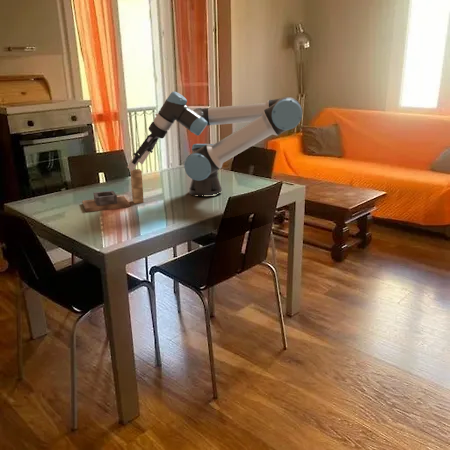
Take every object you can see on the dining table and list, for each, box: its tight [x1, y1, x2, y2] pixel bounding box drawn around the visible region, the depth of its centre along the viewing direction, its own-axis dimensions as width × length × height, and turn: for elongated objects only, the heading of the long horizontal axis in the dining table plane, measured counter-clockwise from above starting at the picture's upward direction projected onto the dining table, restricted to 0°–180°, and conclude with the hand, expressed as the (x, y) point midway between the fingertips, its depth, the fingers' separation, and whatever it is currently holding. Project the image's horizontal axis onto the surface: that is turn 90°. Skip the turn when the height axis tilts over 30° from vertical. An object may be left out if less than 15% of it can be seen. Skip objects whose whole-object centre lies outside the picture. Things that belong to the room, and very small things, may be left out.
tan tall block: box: [129, 168, 145, 204], centre depth 198 cm, size 4×4×14 cm
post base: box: [81, 190, 131, 213], centre depth 194 cm, size 18×12×5 cm, turn 113°
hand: (135, 165), depth 200 cm, fingers open, 13 cm apart
